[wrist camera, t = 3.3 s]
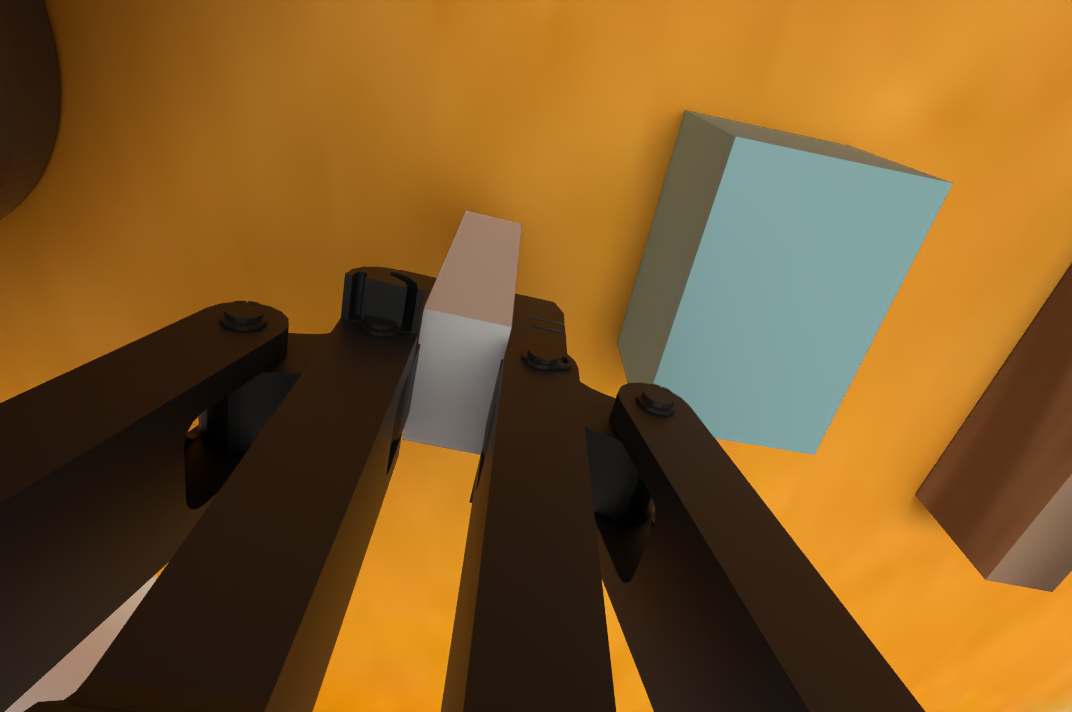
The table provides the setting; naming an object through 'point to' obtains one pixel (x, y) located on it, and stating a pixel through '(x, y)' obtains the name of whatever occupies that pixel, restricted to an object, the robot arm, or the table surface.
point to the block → (770, 276)
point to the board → (1016, 461)
